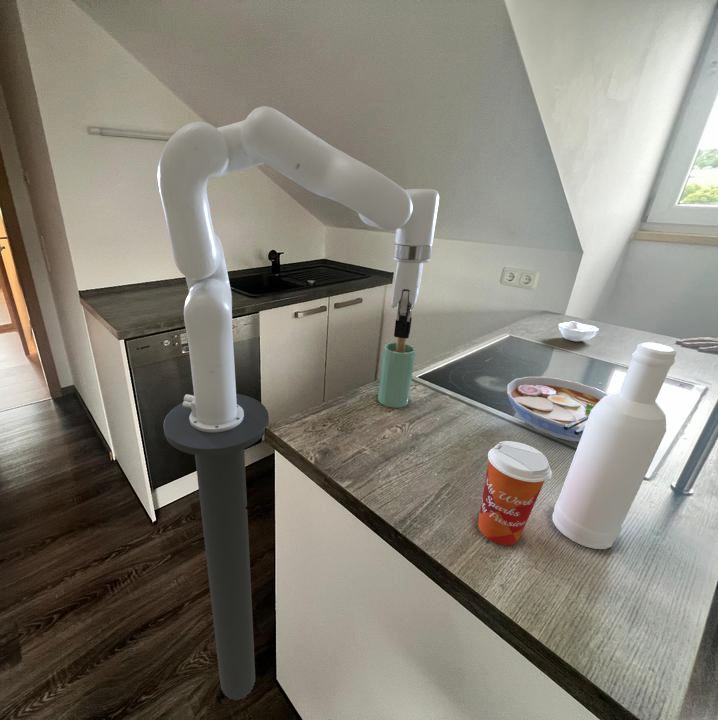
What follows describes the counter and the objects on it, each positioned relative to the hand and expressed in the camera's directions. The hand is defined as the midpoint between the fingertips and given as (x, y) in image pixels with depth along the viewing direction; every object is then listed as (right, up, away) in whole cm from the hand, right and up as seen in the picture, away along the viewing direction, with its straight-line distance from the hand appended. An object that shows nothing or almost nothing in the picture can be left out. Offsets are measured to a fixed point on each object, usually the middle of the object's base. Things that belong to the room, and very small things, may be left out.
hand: (401, 334), depth 88 cm
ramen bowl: (+33, -21, -4) cm, 39 cm away
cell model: (+74, +1, +47) cm, 88 cm away
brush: (0, -10, +4) cm, 11 cm away
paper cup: (+6, -32, -30) cm, 44 cm away
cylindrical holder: (0, -16, +7) cm, 17 cm away
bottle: (+19, -32, -29) cm, 47 cm away
